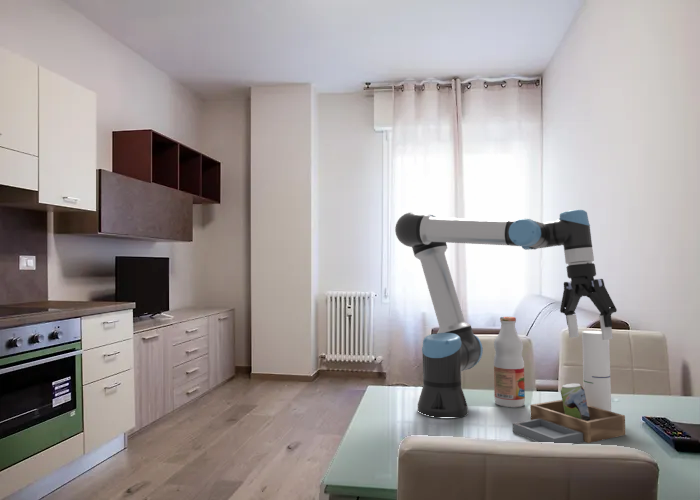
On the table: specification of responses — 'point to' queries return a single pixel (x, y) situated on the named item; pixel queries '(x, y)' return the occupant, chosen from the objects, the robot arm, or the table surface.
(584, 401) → the beverage can
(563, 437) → the tray
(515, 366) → the fruit juice
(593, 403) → the cylindrical container
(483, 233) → the robot arm
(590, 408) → the crate
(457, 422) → the table surface
